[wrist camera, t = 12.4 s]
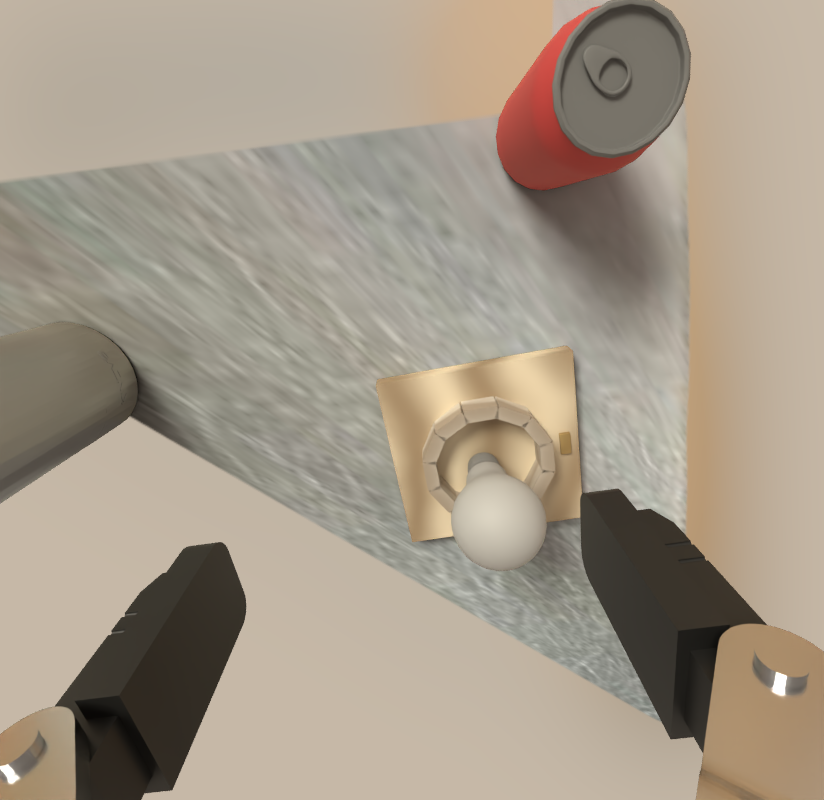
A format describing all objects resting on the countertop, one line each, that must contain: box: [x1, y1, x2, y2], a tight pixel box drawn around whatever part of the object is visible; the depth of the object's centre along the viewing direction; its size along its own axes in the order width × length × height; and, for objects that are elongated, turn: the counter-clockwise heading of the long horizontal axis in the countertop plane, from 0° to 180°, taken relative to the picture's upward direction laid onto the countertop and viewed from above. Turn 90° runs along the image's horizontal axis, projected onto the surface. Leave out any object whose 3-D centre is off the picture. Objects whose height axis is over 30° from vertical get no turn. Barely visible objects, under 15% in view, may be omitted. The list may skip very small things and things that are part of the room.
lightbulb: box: [451, 452, 547, 571], centre depth 31 cm, size 6×6×11 cm
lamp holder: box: [376, 346, 582, 542], centre depth 36 cm, size 15×15×4 cm
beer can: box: [496, 0, 691, 190], centre depth 24 cm, size 7×7×12 cm
